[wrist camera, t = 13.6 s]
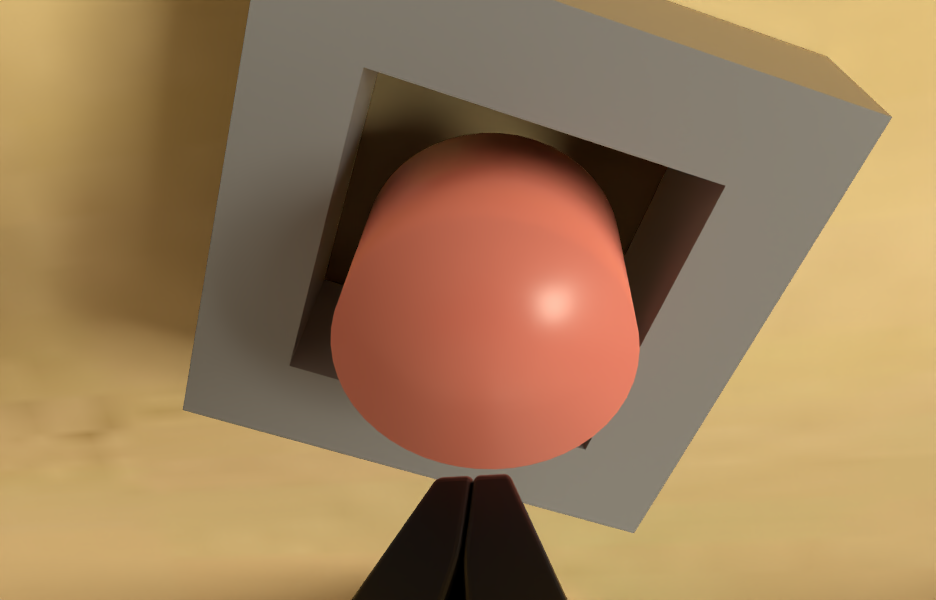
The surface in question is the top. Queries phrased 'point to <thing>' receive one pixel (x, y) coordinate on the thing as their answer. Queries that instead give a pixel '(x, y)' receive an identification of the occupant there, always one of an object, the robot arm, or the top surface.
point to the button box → (556, 107)
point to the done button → (487, 306)
